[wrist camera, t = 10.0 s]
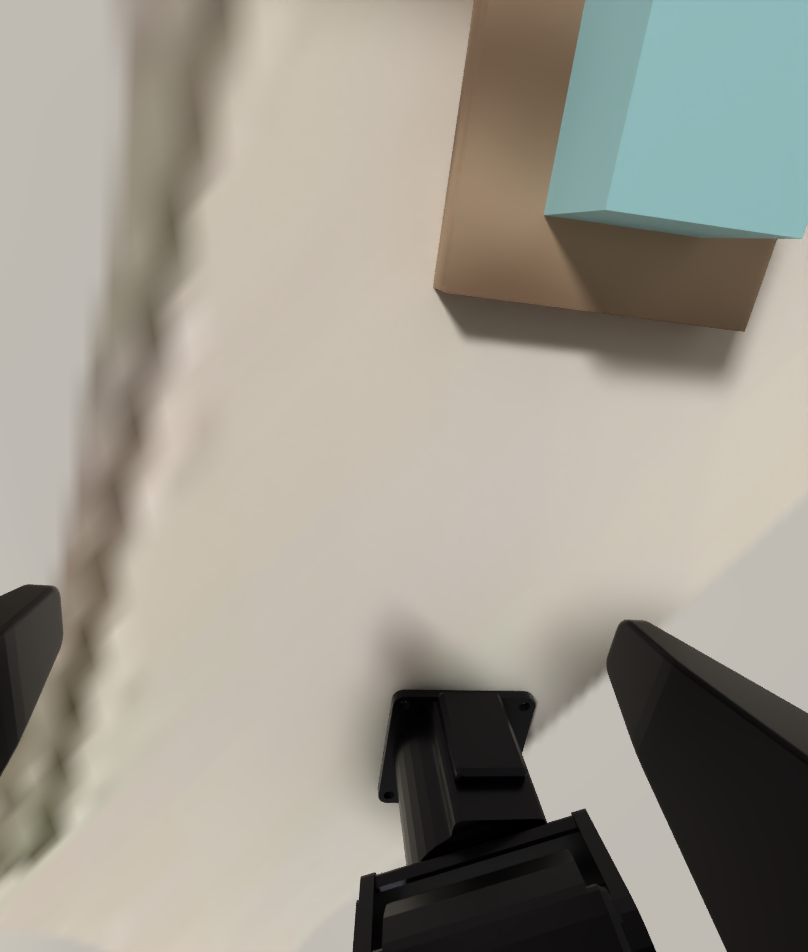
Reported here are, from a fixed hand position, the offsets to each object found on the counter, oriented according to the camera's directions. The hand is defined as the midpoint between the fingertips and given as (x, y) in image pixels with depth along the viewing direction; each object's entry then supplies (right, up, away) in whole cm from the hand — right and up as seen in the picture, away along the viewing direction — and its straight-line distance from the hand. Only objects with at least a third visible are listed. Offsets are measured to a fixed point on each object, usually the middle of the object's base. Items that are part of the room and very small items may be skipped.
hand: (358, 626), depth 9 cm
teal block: (+8, +12, +7) cm, 16 cm away
